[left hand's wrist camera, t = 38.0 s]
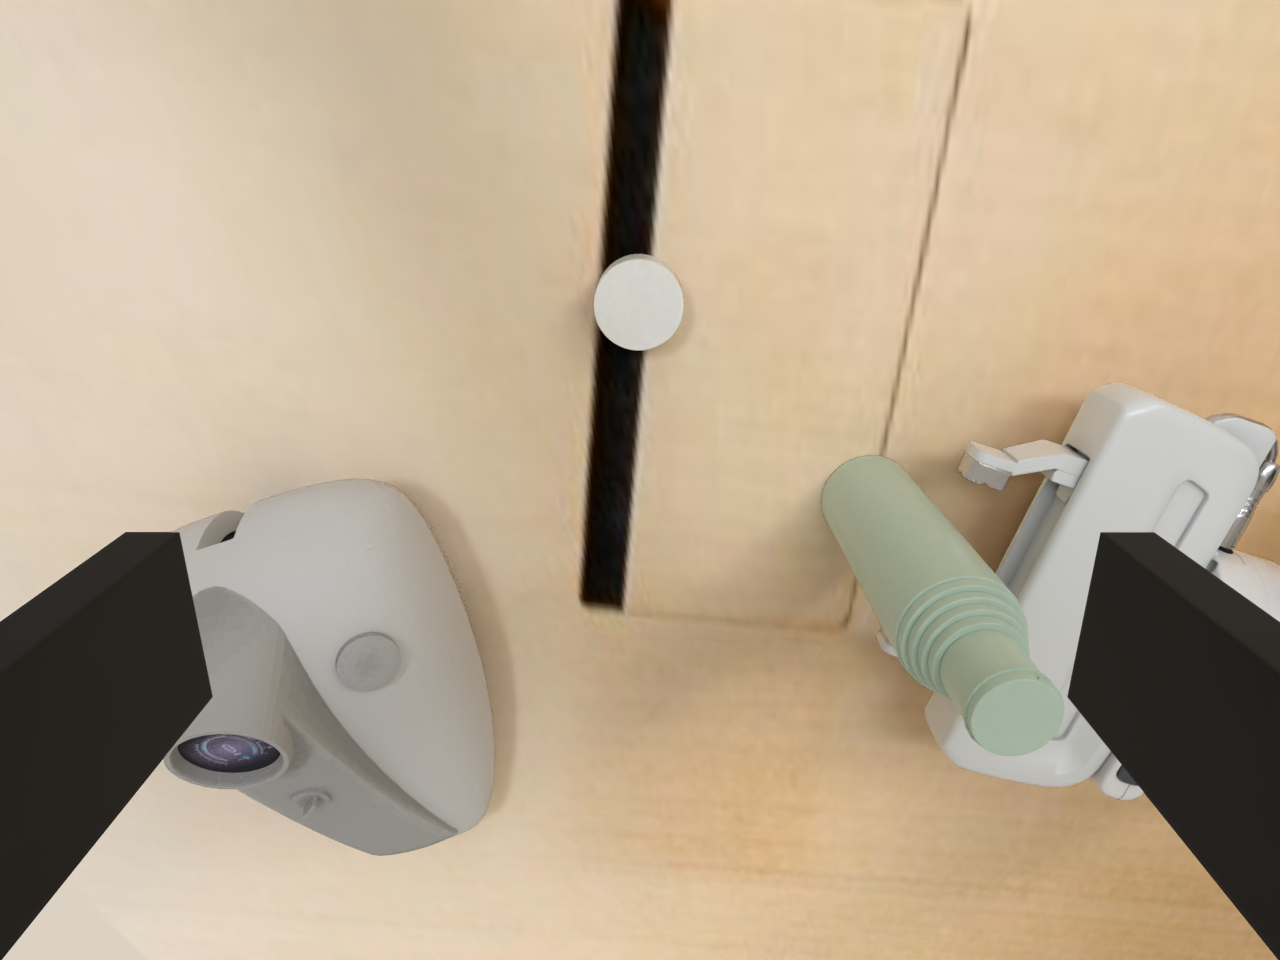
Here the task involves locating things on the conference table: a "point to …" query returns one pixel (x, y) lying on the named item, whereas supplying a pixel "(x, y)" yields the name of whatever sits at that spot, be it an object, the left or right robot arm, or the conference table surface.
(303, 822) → the projector
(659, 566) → the conference table surface
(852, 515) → the bottle
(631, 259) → the cap
